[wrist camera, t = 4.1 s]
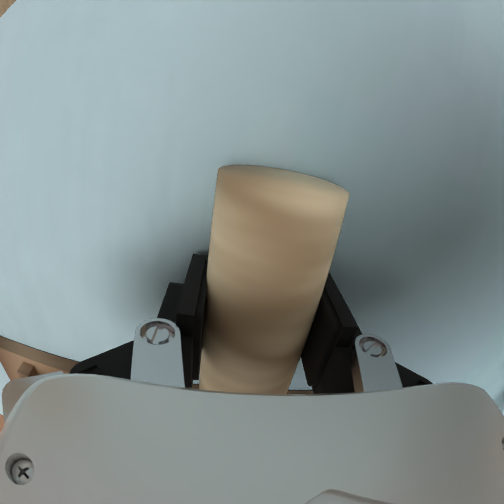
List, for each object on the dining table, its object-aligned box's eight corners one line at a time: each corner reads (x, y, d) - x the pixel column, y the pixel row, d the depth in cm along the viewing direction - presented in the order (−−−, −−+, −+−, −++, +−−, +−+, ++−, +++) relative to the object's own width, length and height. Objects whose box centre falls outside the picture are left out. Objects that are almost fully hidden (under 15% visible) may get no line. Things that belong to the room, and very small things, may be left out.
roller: (325, 176, 11) (372, 208, 7) (276, 366, 15) (287, 428, 11) (220, 160, 10) (214, 183, 7) (201, 361, 14) (196, 425, 11)
